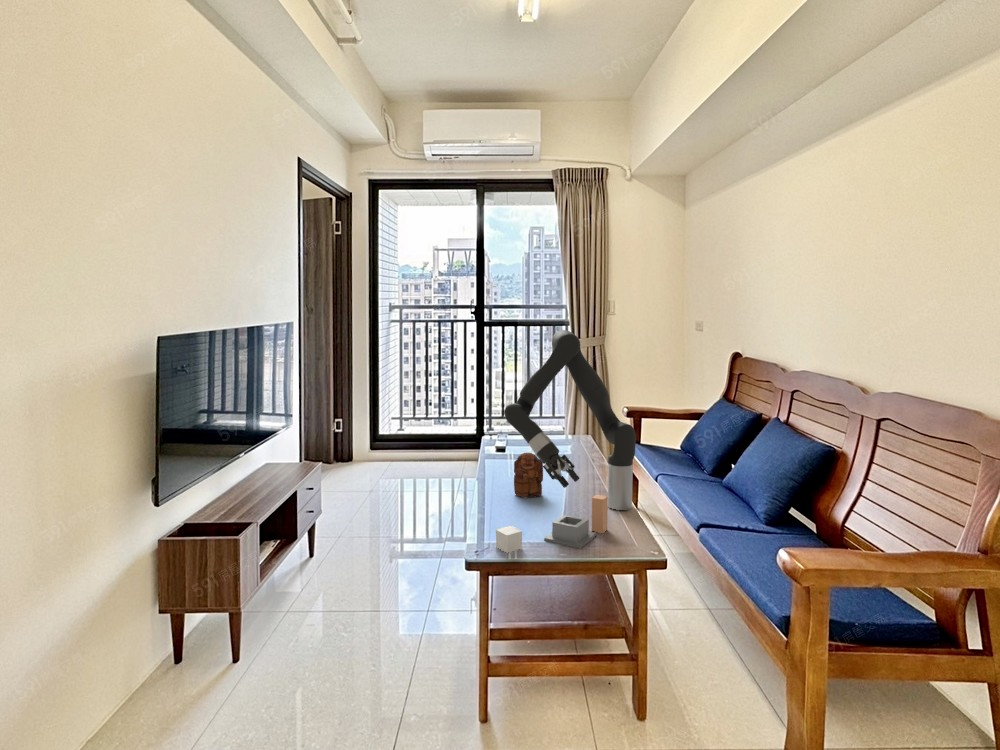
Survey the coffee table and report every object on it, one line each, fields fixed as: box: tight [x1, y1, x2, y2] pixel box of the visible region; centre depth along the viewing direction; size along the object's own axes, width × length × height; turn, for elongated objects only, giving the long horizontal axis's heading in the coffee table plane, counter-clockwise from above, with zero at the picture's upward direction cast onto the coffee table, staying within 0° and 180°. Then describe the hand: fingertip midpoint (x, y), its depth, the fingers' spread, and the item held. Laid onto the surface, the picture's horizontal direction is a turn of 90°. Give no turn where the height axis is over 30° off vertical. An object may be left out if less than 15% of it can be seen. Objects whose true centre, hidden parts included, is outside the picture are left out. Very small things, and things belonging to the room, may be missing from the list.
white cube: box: [495, 525, 523, 554], centre depth 183 cm, size 6×6×6 cm
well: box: [543, 513, 598, 550], centre depth 191 cm, size 13×13×6 cm
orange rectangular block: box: [591, 494, 608, 534], centre depth 197 cm, size 4×4×12 cm
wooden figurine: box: [513, 452, 544, 498], centre depth 237 cm, size 12×6×18 cm, turn 96°
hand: (572, 483), depth 202 cm, fingers open, 8 cm apart
